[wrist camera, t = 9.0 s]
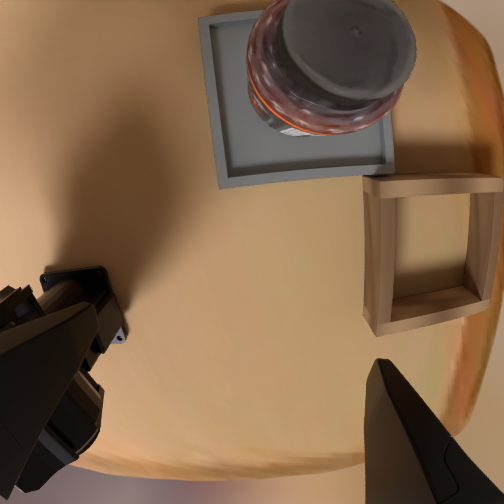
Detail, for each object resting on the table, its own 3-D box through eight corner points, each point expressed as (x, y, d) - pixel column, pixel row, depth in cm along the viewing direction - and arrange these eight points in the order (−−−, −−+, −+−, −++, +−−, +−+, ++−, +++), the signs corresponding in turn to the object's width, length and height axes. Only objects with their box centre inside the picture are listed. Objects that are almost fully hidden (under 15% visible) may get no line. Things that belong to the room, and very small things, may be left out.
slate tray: (221, 186, 20) (219, 189, 19) (201, 26, 16) (198, 18, 15) (385, 171, 20) (395, 173, 18) (365, 19, 16) (373, 11, 15)
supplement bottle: (238, 54, 17) (225, -43, 6) (333, 43, 16) (413, -42, 6) (258, 145, 18) (269, 146, 8) (352, 131, 18) (462, 126, 7)
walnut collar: (363, 315, 23) (376, 336, 20) (362, 176, 20) (379, 181, 17) (469, 294, 23) (488, 309, 20) (479, 172, 20) (503, 177, 17)
